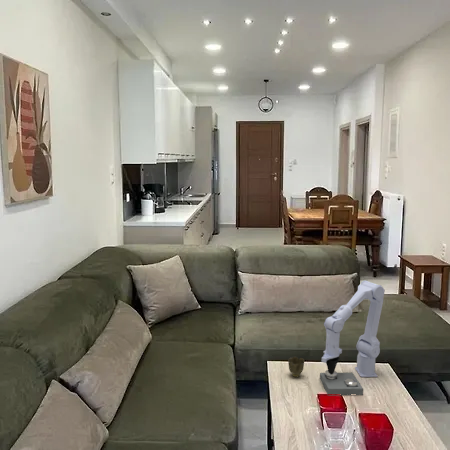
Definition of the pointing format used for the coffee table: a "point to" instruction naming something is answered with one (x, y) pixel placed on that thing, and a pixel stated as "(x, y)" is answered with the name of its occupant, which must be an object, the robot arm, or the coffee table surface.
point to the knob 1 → (330, 375)
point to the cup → (296, 366)
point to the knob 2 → (350, 383)
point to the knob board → (341, 384)
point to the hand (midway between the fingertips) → (331, 372)
